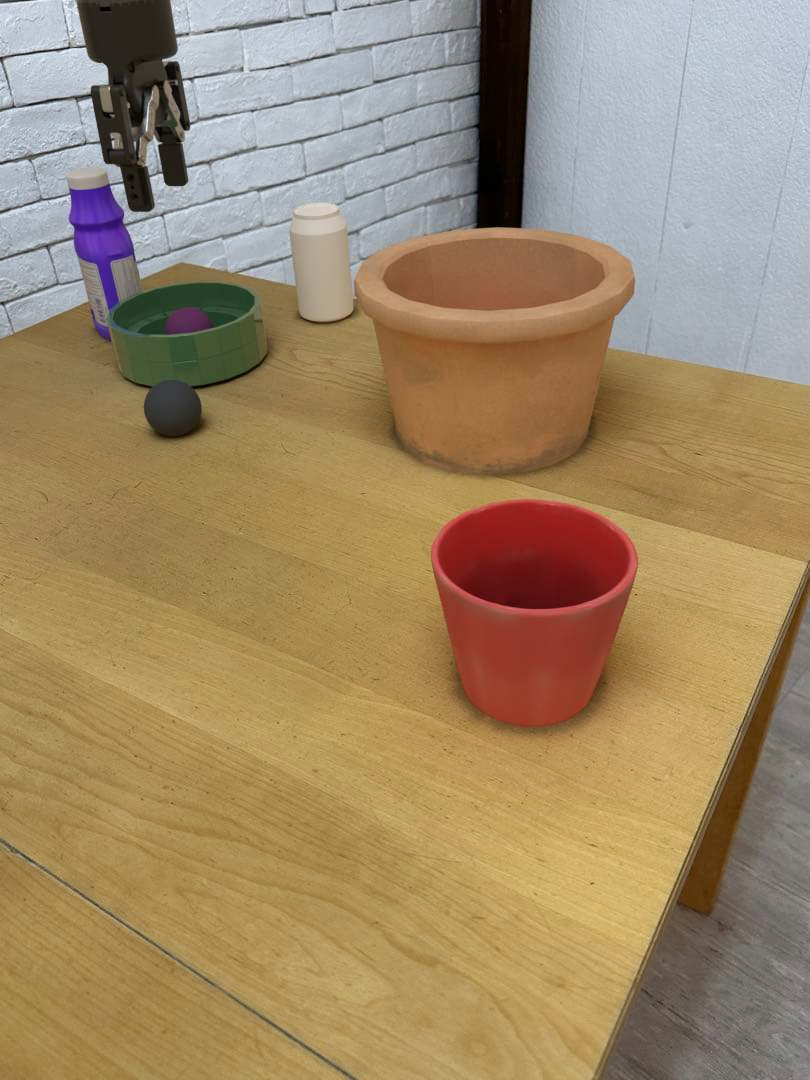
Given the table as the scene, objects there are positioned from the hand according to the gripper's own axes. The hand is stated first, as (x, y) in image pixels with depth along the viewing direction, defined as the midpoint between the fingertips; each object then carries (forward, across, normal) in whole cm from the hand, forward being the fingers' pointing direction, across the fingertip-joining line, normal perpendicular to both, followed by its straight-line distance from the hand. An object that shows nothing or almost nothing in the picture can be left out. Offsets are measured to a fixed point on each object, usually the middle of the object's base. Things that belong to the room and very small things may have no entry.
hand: (160, 197), depth 84 cm
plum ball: (+16, -1, 0) cm, 16 cm away
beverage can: (+17, -14, +11) cm, 25 cm away
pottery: (+17, +11, +32) cm, 38 cm away
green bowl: (+17, -1, 0) cm, 17 cm away
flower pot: (+17, +42, +36) cm, 58 cm away
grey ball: (+17, +14, +4) cm, 22 cm away
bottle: (+17, -8, -11) cm, 22 cm away
